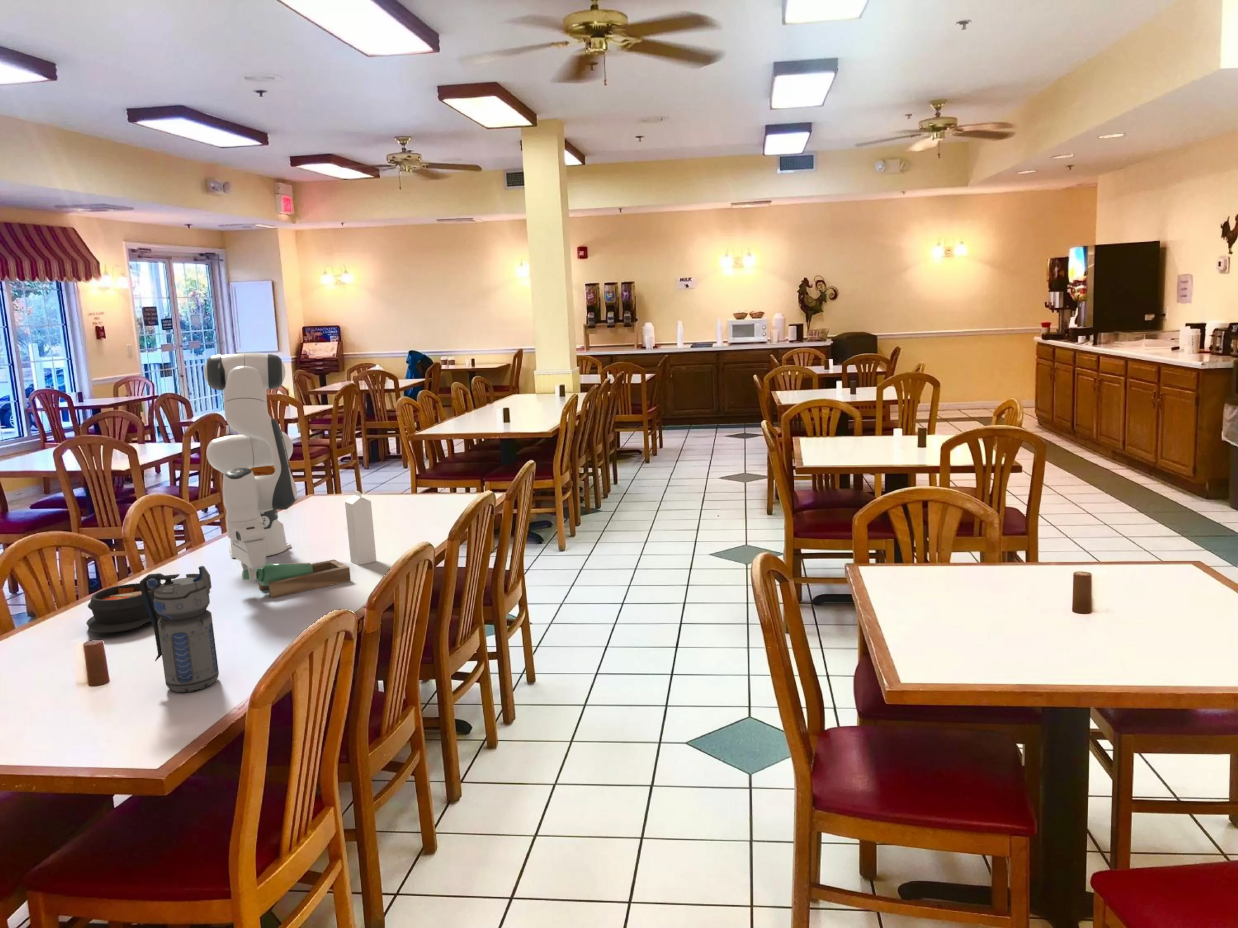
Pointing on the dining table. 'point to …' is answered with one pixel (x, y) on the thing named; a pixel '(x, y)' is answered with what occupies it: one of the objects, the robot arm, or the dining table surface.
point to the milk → (360, 529)
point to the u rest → (310, 579)
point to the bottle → (279, 572)
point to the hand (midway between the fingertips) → (250, 578)
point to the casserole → (119, 609)
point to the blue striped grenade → (183, 628)
